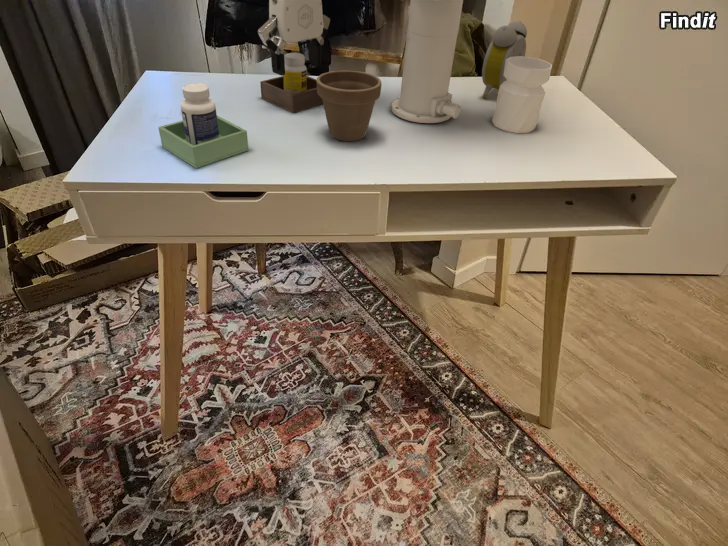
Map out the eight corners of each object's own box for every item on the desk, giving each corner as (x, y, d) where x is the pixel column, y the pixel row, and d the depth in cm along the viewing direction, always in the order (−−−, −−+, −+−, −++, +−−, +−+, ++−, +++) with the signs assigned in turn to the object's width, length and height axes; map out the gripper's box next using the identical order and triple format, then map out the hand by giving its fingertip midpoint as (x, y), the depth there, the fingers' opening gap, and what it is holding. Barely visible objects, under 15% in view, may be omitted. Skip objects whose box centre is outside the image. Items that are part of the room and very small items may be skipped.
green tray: (248, 150, 85) (246, 130, 83) (195, 168, 79) (192, 147, 77) (214, 131, 90) (211, 112, 88) (162, 146, 84) (158, 126, 82)
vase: (522, 137, 97) (539, 73, 89) (483, 123, 101) (497, 61, 94) (542, 125, 102) (561, 64, 94) (505, 112, 106) (519, 53, 99)
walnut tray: (330, 101, 105) (330, 84, 103) (293, 113, 99) (292, 95, 97) (298, 88, 110) (298, 72, 108) (261, 98, 104) (260, 81, 102)
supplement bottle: (305, 102, 103) (304, 59, 97) (282, 101, 103) (280, 58, 97) (308, 94, 106) (307, 52, 101) (285, 92, 106) (284, 51, 101)
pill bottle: (226, 142, 86) (220, 85, 80) (209, 155, 82) (200, 95, 76) (199, 136, 87) (190, 79, 81) (180, 148, 83) (170, 89, 77)
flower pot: (316, 121, 97) (316, 67, 90) (374, 122, 98) (378, 69, 91) (316, 146, 88) (316, 89, 81) (380, 148, 89) (385, 91, 83)
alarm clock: (496, 85, 120) (511, 17, 111) (523, 92, 117) (541, 23, 108) (475, 98, 112) (489, 25, 103) (503, 105, 110) (520, 32, 100)
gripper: (269, -22, 83) (275, 82, 94) (342, -30, 93) (340, 65, 104) (241, -28, 87) (251, 72, 98) (314, -36, 97) (316, 57, 108)
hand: (297, 68), depth 101 cm, fingers open, 9 cm apart
